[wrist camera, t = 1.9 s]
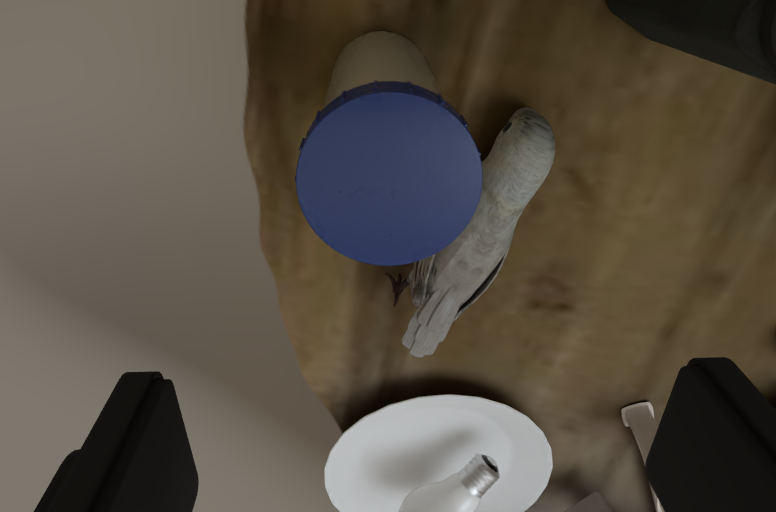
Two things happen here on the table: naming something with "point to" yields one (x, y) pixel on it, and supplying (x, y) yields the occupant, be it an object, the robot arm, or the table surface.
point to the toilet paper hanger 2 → (642, 432)
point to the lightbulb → (455, 489)
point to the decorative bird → (479, 232)
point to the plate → (437, 453)
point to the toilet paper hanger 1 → (591, 504)
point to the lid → (388, 173)
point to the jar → (379, 64)
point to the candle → (710, 30)
